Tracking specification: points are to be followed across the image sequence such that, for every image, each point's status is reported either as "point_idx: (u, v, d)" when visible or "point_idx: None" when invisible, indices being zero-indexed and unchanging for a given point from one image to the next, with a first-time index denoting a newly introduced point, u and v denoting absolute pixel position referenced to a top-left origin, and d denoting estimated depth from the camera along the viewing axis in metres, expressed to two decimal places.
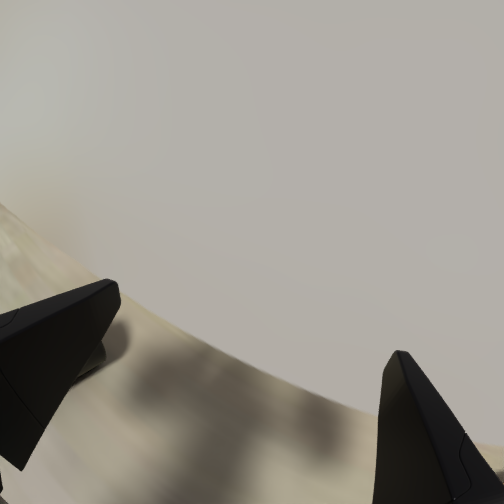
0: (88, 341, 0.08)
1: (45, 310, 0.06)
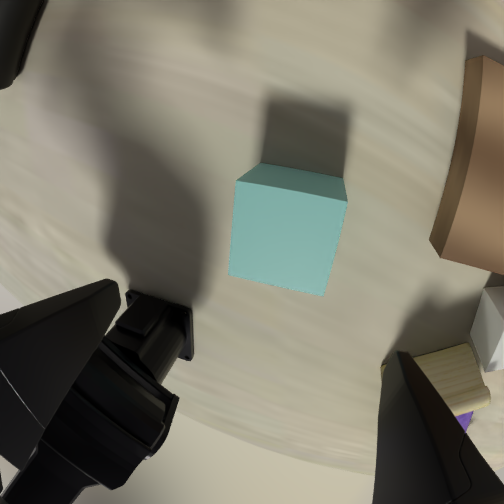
0: (88, 341, 0.08)
1: (45, 310, 0.06)
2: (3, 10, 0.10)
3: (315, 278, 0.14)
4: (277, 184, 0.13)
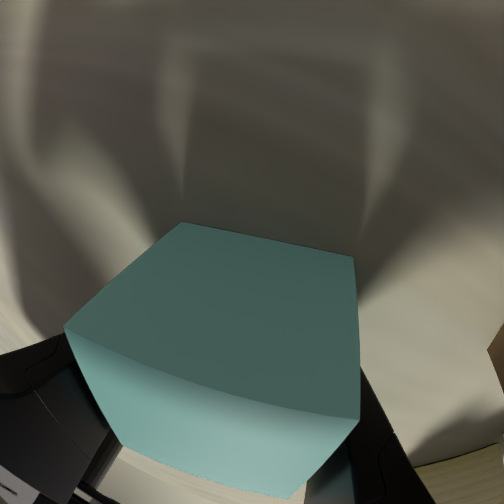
0: None
1: None
2: None
3: (271, 487, 0.05)
4: (158, 345, 0.04)
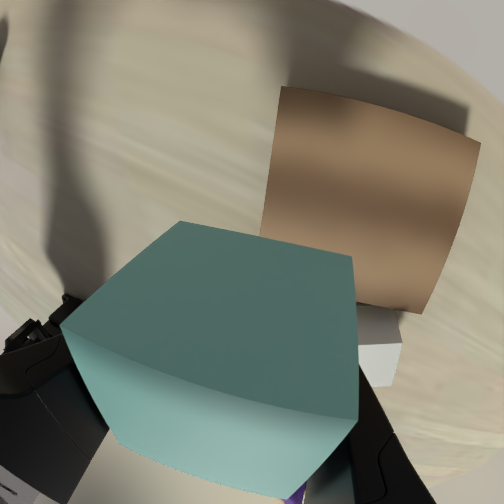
0: None
1: None
2: None
3: (270, 488, 0.05)
4: (155, 343, 0.04)
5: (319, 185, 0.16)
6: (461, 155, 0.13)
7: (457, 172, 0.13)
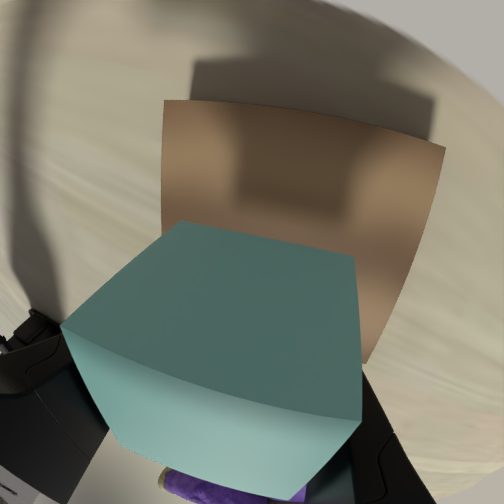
0: None
1: None
2: None
3: (271, 489, 0.05)
4: (157, 345, 0.04)
5: (216, 217, 0.13)
6: (414, 167, 0.10)
7: (408, 191, 0.11)
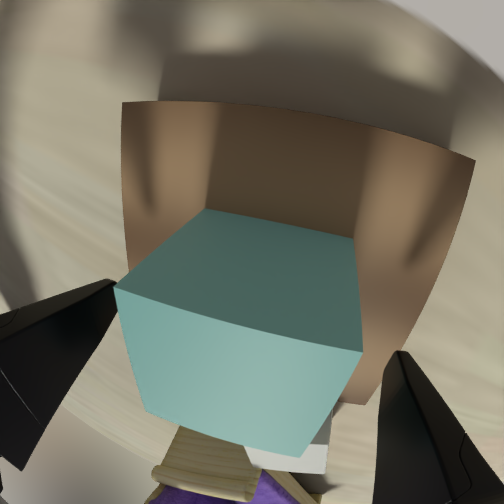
0: (88, 341, 0.08)
1: (45, 310, 0.06)
2: None
3: (286, 442, 0.07)
4: (200, 297, 0.06)
5: None
6: (436, 185, 0.08)
7: (427, 216, 0.08)
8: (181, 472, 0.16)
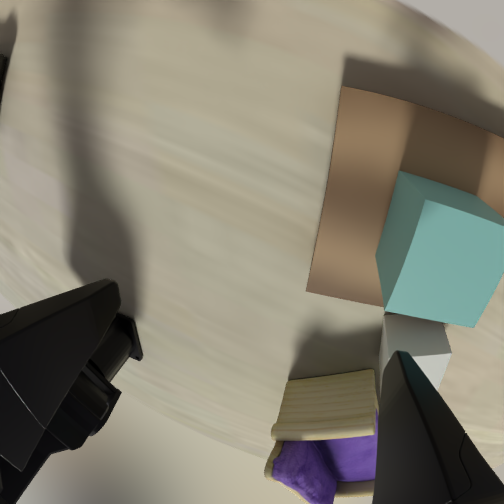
0: (88, 341, 0.08)
1: (45, 310, 0.06)
2: None
3: (473, 310, 0.10)
4: (461, 208, 0.09)
5: (380, 194, 0.14)
6: None
7: None
8: (304, 423, 0.20)
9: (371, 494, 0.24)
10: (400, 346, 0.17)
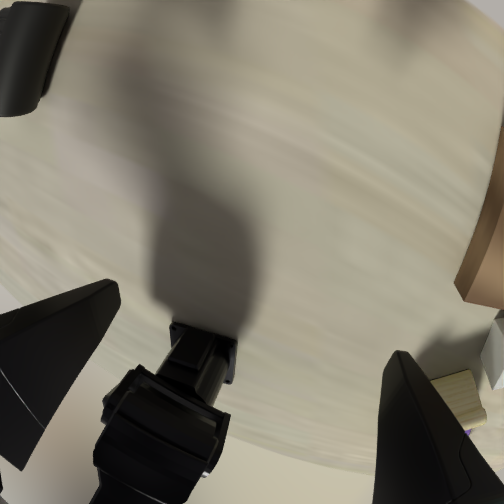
0: (88, 341, 0.08)
1: (45, 310, 0.06)
2: (27, 27, 0.11)
3: None
4: None
5: None
6: None
7: None
8: None
9: None
10: None
